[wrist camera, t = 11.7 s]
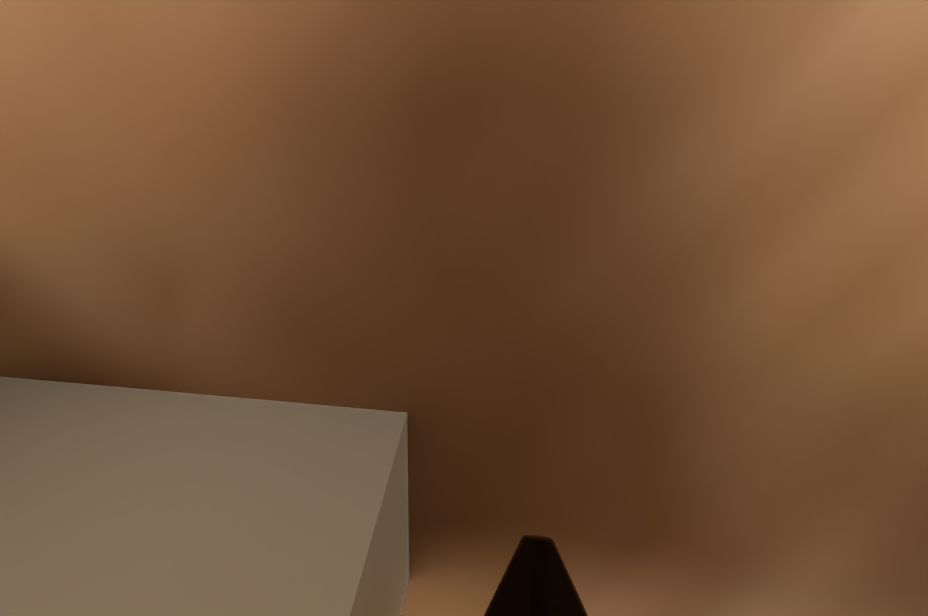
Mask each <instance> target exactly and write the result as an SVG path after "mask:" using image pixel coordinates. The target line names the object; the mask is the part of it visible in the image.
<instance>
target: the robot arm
mask: <svg viewBox="0 0 928 616" xmlns="http://www.w3.org/2000/svg"><path fill="white" fill-rule="evenodd" d="M484 616H588V615H587V613H586V611H585V609H584V606H583V604H582V602H581V600H580V598H579V595H578V593H577V591H576V589H575V587H574V584H573V582H572V580H571V578H570V576H569V573H568V571H567V569H566V567H565V565H564V562H563V560H562V558H561V556H560V554H559V551H558V549H557V547H556V545H555V543H554V541H553V540H552V539H551V538H549V537H544V536H536V535H528V534H527V535H524V536H523V537H522V538H521V540H520V542H519V544H518V546H517V548H516V550H515V552H514V554H513V557H512V559H511V561H510V563H509V565H508V567H507V569H506V571H505V573H504V575H503V577H502V579H501V581H500V584H499V586H498V588H497V590H496V592H495V594H494V596H493V598H492V600H491V602H490V604H489V606H488V608H487V610H486V613H485V615H484Z"/></svg>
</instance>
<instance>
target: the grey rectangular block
mask: <svg viewBox="0 0 928 616" xmlns="http://www.w3.org/2000/svg"><path fill="white" fill-rule="evenodd" d="M408 583H409V511H408V430H407V412H396V411H385V410H374V409H363V408H351V407H340V406H329V405H318V404H307V403H295V402H284V401H273V400H262V399H251V398H239V397H228V396H217V395H206V394H194V393H183V392H172V391H161V390H149V389H138V388H126V387H115V386H104V385H92V384H81V383H70V382H58V381H47V380H35V379H24V378H13V377H1V376H0V616H402V614H403V609H404V604H405V599H406V594H407V589H408Z"/></svg>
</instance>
